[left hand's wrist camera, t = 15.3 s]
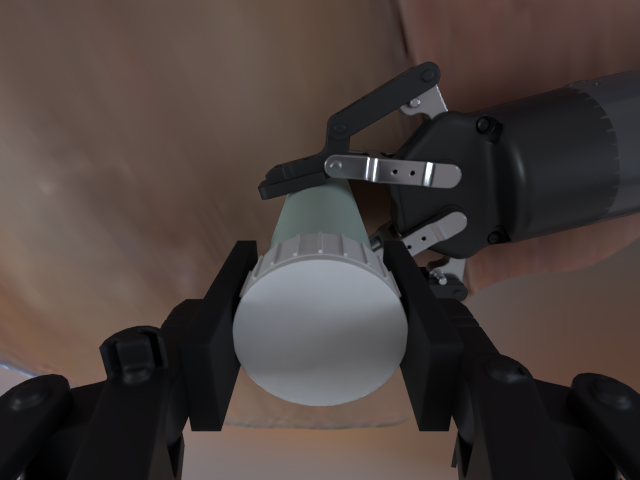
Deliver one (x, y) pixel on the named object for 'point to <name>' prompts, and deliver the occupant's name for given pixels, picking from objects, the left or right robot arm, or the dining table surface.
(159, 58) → the dining table surface
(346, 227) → the green bottle
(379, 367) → the lid
